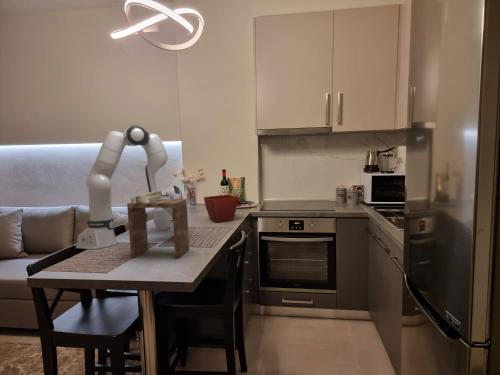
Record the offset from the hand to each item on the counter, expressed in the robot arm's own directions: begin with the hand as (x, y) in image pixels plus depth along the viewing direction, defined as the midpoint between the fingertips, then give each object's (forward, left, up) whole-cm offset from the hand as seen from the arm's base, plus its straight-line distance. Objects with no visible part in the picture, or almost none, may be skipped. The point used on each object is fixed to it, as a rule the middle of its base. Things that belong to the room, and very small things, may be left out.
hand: (158, 193), depth 182 cm
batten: (0, -11, -1) cm, 11 cm away
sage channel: (0, -14, -2) cm, 14 cm away
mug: (-14, +37, -28) cm, 49 cm away
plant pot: (+17, +64, -28) cm, 72 cm away
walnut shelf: (+6, -15, -28) cm, 32 cm away
